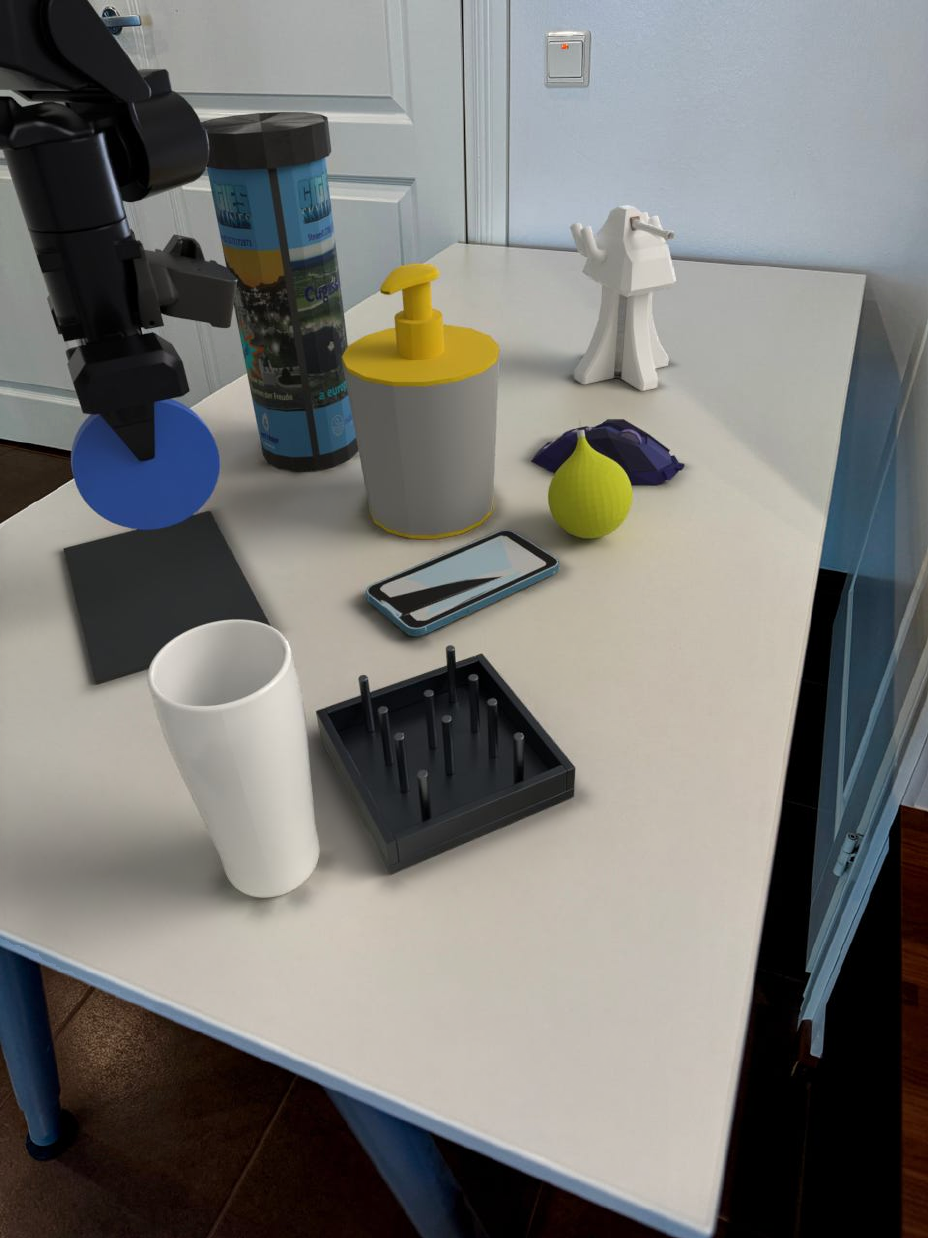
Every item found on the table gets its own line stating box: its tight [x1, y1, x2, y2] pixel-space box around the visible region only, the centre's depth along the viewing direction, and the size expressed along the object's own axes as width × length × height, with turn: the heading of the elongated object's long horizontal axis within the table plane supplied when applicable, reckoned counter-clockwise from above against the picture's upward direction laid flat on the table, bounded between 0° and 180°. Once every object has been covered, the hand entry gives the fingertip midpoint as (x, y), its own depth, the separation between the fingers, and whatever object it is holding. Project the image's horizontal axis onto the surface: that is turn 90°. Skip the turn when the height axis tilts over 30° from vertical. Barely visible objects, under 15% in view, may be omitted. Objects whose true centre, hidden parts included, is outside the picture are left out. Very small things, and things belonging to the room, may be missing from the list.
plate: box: [70, 398, 221, 530], centre depth 63 cm, size 1×10×10 cm, turn 116°
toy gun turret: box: [570, 204, 677, 392], centre depth 99 cm, size 12×13×18 cm
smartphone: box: [365, 529, 560, 637], centre depth 70 cm, size 7×1×15 cm
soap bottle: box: [342, 263, 501, 540], centre depth 75 cm, size 13×13×21 cm
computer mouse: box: [531, 418, 686, 486], centre depth 86 cm, size 9×15×4 cm, turn 64°
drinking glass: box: [146, 620, 321, 899], centre depth 45 cm, size 7×7×15 cm
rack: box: [315, 644, 576, 875], centre depth 54 cm, size 12×12×5 cm
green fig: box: [547, 421, 634, 539], centre depth 74 cm, size 7×7×10 cm
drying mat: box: [63, 510, 272, 685], centre depth 72 cm, size 13×20×1 cm, turn 26°
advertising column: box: [200, 111, 359, 473], centre depth 82 cm, size 11×11×30 cm
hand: (145, 454), depth 62 cm, fingers closed on plate, 1 cm apart
